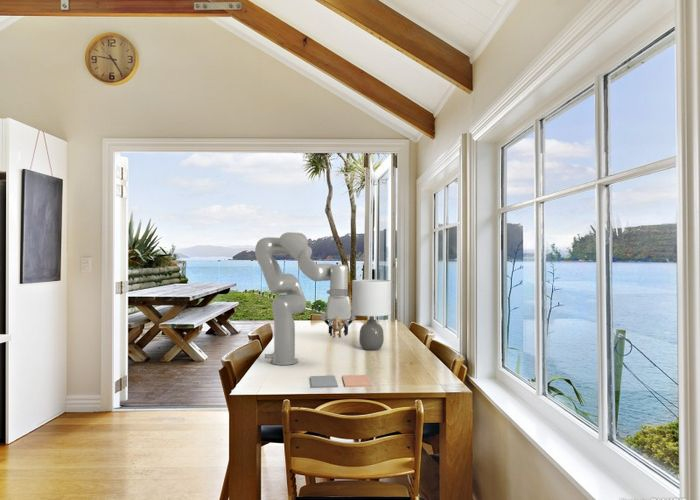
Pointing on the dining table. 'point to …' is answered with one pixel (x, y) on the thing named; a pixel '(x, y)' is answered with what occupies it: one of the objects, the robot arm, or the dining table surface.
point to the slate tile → (323, 381)
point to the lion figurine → (337, 326)
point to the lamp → (371, 309)
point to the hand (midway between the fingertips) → (338, 334)
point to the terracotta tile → (356, 381)
